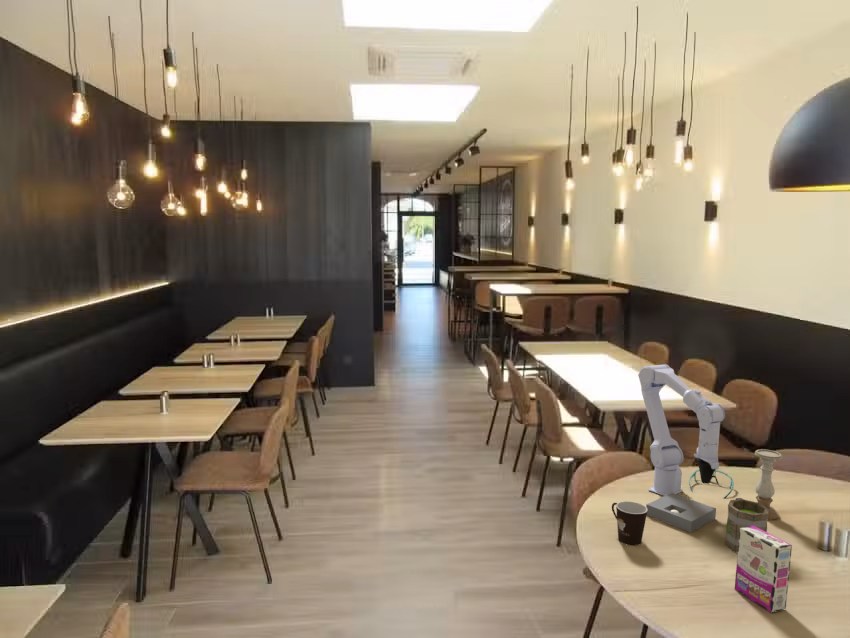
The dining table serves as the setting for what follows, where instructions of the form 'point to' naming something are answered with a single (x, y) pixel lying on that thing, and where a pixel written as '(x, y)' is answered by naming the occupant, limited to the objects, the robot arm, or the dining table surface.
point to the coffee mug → (630, 521)
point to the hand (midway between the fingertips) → (705, 482)
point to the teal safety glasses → (715, 478)
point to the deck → (681, 512)
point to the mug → (744, 519)
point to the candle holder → (767, 481)
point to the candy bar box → (763, 568)
